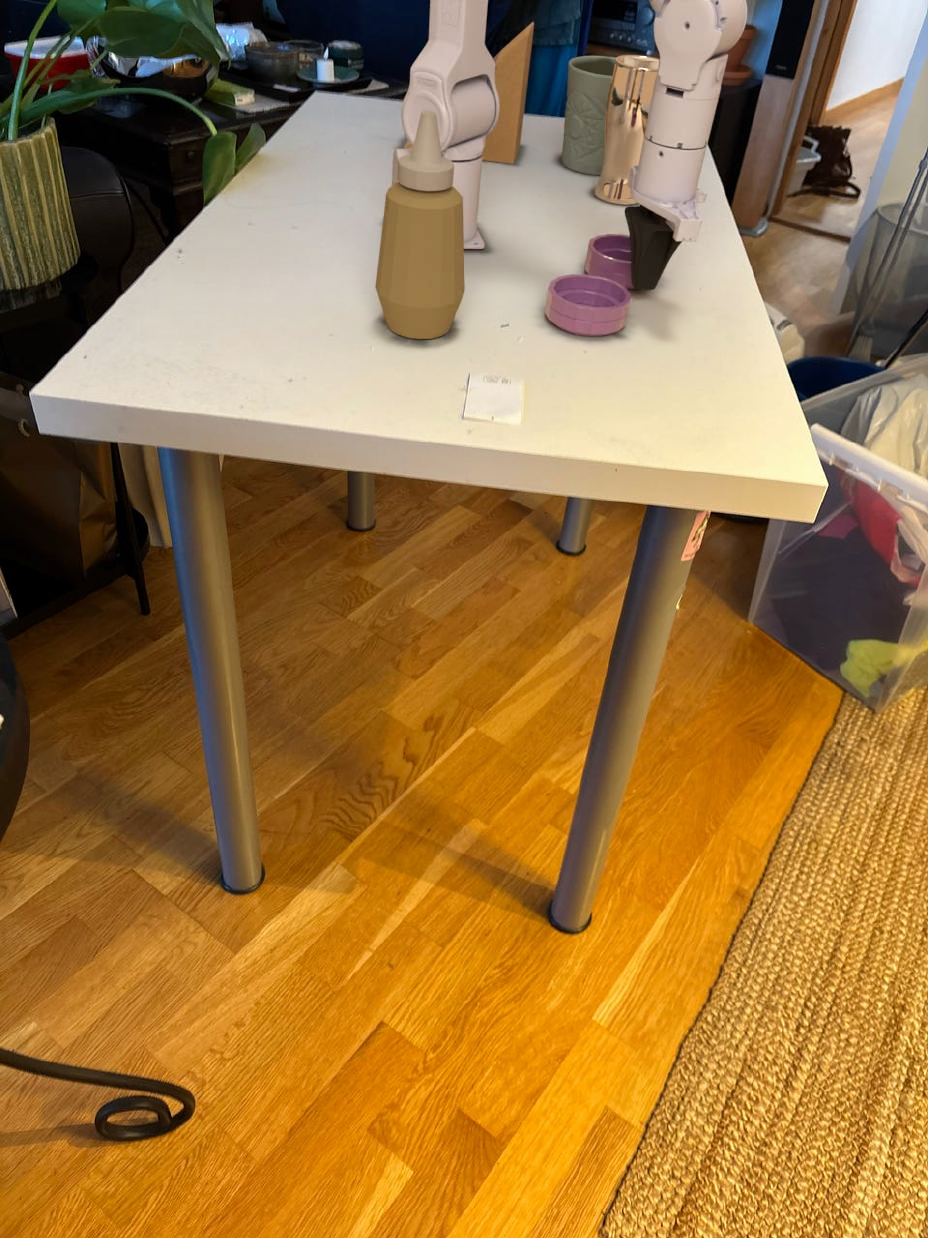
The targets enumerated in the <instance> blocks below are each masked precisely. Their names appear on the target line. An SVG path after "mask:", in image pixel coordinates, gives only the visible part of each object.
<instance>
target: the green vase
mask: <svg viewBox="0 0 928 1238" xmlns="http://www.w3.org/2000/svg"><path fill="white" fill-rule="evenodd" d="M616 58H617V57H614V56H606V55H583V56H577V57H573V58H571V59H570V60H569V61H568V67H567V89H566V97H567V100H566V102H565V110H564V111H565V112H564V123H563V140H562V149H561V163H562V165H563V166H564V167H566V168H568V169H570V170H572V171H575V172H578V173H580V174H581V173H582V174H586V175H591V176H592V175H593V176H600V174H601V170H602V166H603V159H604V129H605V110H606V102H607V96H608V91H609V86H610V82H611V77H612V73H613V69H614V65H615V59H616Z"/></svg>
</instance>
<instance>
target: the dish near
mask: <svg viewBox="0 0 928 1238" xmlns="http://www.w3.org/2000/svg"><path fill="white" fill-rule="evenodd" d="M631 299H632V293H631V292H630V291H629V289H627V288H625V287H624V286H622V285H620V284H619V283H617V282H615V281H612V280H609V279H606V278H604V277H599V276H593V275H589V274H585V273H583V274H578V273H577V274H576V273H575V274H574V273H573V274H566V275H561V276H557V277H556V278H554V279H553V280H551V281H550V283H549V286H548V289H547V294H546V303H545V309H544V312H545V315H546V317H547V319H548V320H549V321H550V322H551V323H552V324H554V325H555V326H557V327H558V328H559V329H561V330H563V331H565V332H568V333H571V334H573V335H578V336H584V337H585V336H586V337H602V336H607V335H610V334H613V333H617V332H619V331H620V330H621V329H623V328H624V327H625V326H626V323H627V318H628V314H629V308H630V304H631Z"/></svg>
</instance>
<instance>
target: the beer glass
mask: <svg viewBox="0 0 928 1238" xmlns="http://www.w3.org/2000/svg"><path fill="white" fill-rule="evenodd" d="M615 58H616V59H615V65H614V69H613V73H612V77H611V82H610V86H609V91H608V96H607V102H606V110H605V129H604V159H603V166H602V170H601V174H600V175H599V176H598V180H597V182H596V186H595V189H594V195H595V196H596V198H598V199H599V200H602V201H604V202H606V203H610V204H614V205H623V206H624V205H626V206H629V205H630V206H632V205H636V204H637V205H638V203H637V202H635V201H634V200H633V199H632V198H631V195H630V193H631V189H630V188H629V187H628V186H627V181H628V176H629V171H630V166H631V165H637V166H638V164H639V159H640V154H641V149H642V144H643V139H644V135H645V129H646V124H647V119H648V114H649V109H650V104H651V99H652V94H653V89H654V84H655V79H656V76H657V71H658V66H659V61H660V58H657V57H653V56H646V55H638V54H623V55H618V56H617V57H615Z"/></svg>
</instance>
